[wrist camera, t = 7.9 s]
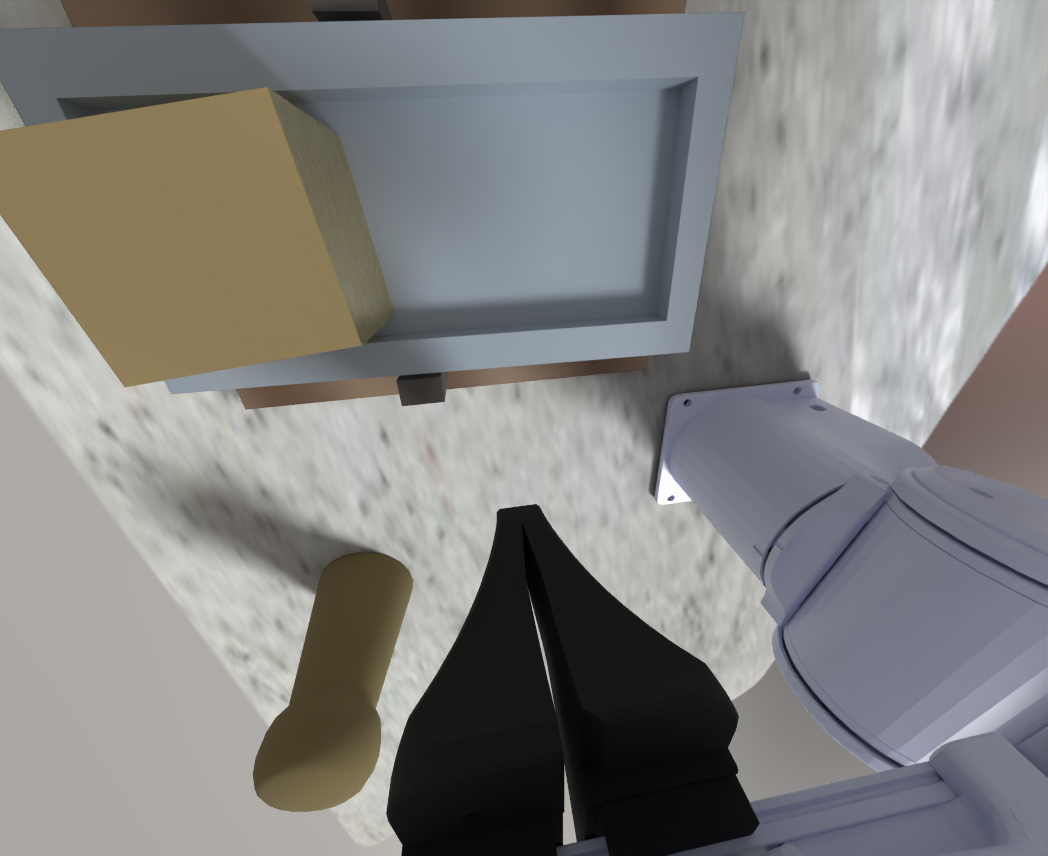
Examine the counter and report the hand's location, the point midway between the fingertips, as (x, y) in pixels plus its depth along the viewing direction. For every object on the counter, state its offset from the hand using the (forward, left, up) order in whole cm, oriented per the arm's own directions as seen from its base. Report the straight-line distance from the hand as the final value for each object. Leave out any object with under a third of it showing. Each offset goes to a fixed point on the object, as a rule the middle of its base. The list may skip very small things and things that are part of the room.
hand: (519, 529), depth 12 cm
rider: (+7, -9, -5) cm, 12 cm away
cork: (+10, +12, -10) cm, 18 cm away
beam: (+2, -9, -6) cm, 11 cm away
